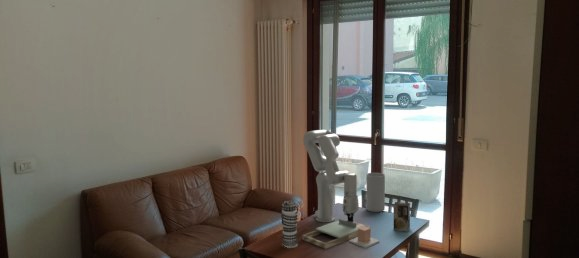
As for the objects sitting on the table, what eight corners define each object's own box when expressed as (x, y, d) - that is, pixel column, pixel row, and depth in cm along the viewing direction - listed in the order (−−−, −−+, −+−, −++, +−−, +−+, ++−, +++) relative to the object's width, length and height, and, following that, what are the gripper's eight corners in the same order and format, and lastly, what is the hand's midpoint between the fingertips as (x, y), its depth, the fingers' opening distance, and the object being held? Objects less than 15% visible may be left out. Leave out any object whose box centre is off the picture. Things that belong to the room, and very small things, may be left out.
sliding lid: (315, 229, 250) (315, 224, 250) (337, 222, 263) (337, 216, 262) (339, 238, 236) (339, 232, 236) (361, 230, 248) (361, 224, 248)
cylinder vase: (384, 212, 288) (385, 177, 285) (366, 211, 290) (366, 176, 287) (384, 207, 300) (384, 172, 297) (366, 206, 302) (366, 172, 299)
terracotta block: (357, 240, 237) (357, 228, 237) (363, 238, 241) (363, 226, 240) (364, 242, 234) (364, 230, 233) (370, 240, 237) (370, 228, 236)
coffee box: (410, 228, 257) (410, 203, 255) (408, 232, 251) (408, 206, 249) (395, 226, 261) (395, 201, 259) (393, 230, 255) (393, 204, 253)
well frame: (301, 239, 243) (301, 235, 243) (346, 223, 269) (346, 219, 268) (325, 248, 229) (325, 244, 229) (370, 230, 254) (370, 226, 254)
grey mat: (349, 242, 238) (349, 240, 238) (362, 236, 246) (362, 234, 246) (365, 248, 229) (365, 246, 229) (379, 242, 237) (379, 240, 237)
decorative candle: (288, 240, 242) (287, 198, 239) (301, 244, 236) (300, 201, 233) (278, 245, 235) (277, 202, 232) (291, 249, 229) (290, 205, 226)
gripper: (347, 197, 246) (347, 227, 248) (363, 192, 256) (363, 221, 258) (337, 194, 252) (337, 224, 254) (353, 189, 262) (353, 218, 264)
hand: (350, 222), depth 256 cm, fingers closed
